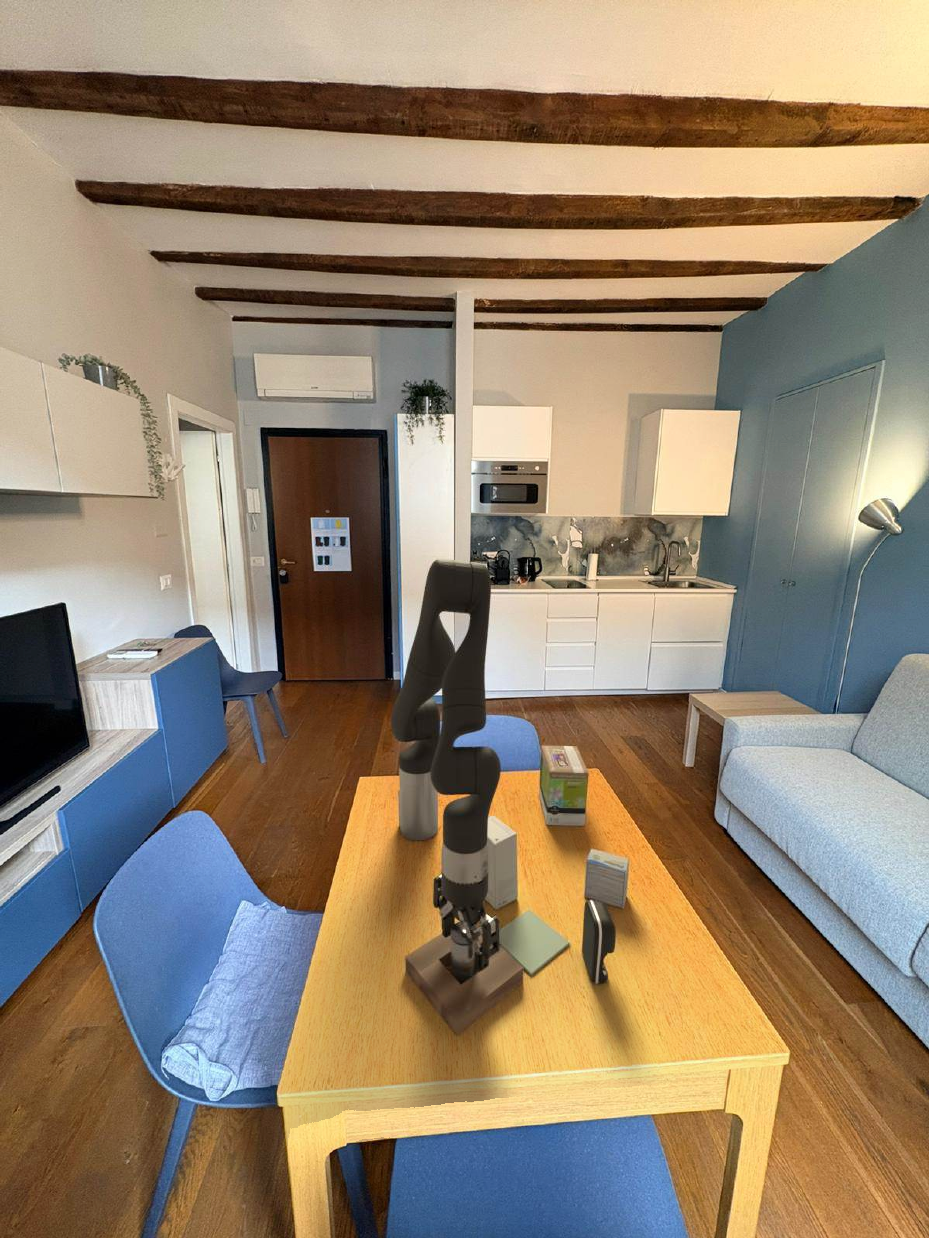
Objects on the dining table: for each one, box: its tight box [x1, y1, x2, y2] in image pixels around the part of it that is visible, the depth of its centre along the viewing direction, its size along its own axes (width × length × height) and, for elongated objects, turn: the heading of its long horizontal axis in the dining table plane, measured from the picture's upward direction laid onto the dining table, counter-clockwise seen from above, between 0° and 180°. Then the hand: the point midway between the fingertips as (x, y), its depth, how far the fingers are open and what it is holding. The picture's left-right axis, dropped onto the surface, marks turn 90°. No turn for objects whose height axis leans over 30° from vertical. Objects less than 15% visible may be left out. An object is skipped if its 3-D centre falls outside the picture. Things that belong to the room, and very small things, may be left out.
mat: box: [499, 908, 571, 976], centre depth 93 cm, size 10×10×1 cm
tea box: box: [538, 745, 589, 827], centre depth 132 cm, size 15×10×15 cm
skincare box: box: [485, 815, 519, 910], centre depth 103 cm, size 8×6×15 cm
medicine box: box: [583, 848, 630, 910], centre depth 103 cm, size 8×4×9 cm, turn 65°
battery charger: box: [581, 899, 617, 985], centre depth 86 cm, size 7×4×11 cm, turn 2°
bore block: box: [404, 923, 524, 1037], centre depth 85 cm, size 14×14×3 cm
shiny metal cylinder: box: [450, 921, 478, 985], centre depth 84 cm, size 4×4×9 cm
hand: (464, 950), depth 84 cm, fingers open, 8 cm apart
